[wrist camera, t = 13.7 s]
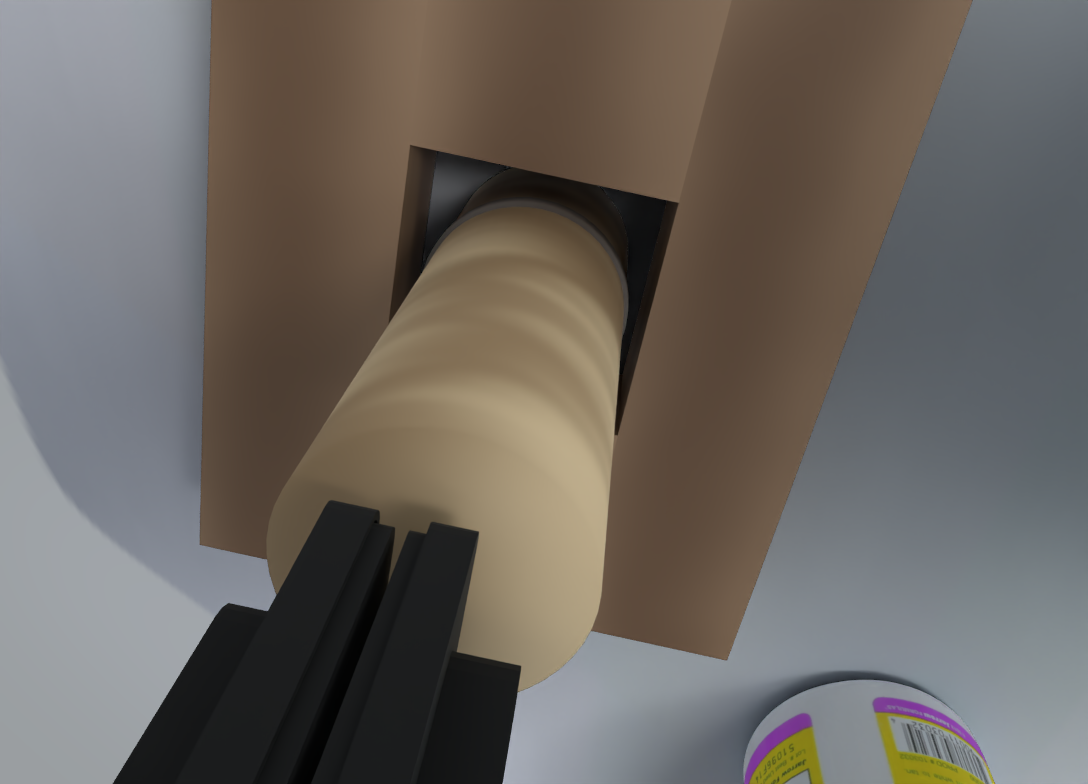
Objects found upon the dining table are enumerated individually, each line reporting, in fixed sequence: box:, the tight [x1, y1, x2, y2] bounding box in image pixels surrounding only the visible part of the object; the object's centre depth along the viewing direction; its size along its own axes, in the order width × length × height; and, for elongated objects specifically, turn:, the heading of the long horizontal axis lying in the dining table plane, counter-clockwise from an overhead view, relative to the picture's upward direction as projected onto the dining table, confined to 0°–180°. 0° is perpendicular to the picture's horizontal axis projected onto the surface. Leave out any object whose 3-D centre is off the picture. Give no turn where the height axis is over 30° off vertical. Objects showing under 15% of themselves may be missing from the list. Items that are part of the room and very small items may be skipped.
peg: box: [266, 167, 629, 692], centre depth 17 cm, size 4×4×12 cm
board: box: [200, 0, 973, 660], centre depth 20 cm, size 13×16×3 cm
